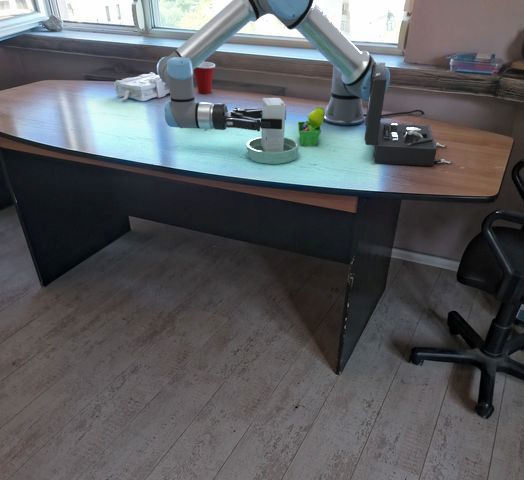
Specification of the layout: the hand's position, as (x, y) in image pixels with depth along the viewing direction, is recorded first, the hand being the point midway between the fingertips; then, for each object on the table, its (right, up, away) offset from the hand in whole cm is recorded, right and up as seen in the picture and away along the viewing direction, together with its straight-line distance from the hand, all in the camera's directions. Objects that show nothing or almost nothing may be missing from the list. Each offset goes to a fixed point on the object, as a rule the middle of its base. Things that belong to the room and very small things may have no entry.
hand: (283, 119), depth 150 cm
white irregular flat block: (-61, +44, +69) cm, 102 cm away
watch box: (+41, -6, +11) cm, 43 cm away
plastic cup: (-33, +48, +74) cm, 94 cm away
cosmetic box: (-3, -7, +7) cm, 10 cm away
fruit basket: (+10, +1, +19) cm, 22 cm away
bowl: (-3, -8, +8) cm, 12 cm away
